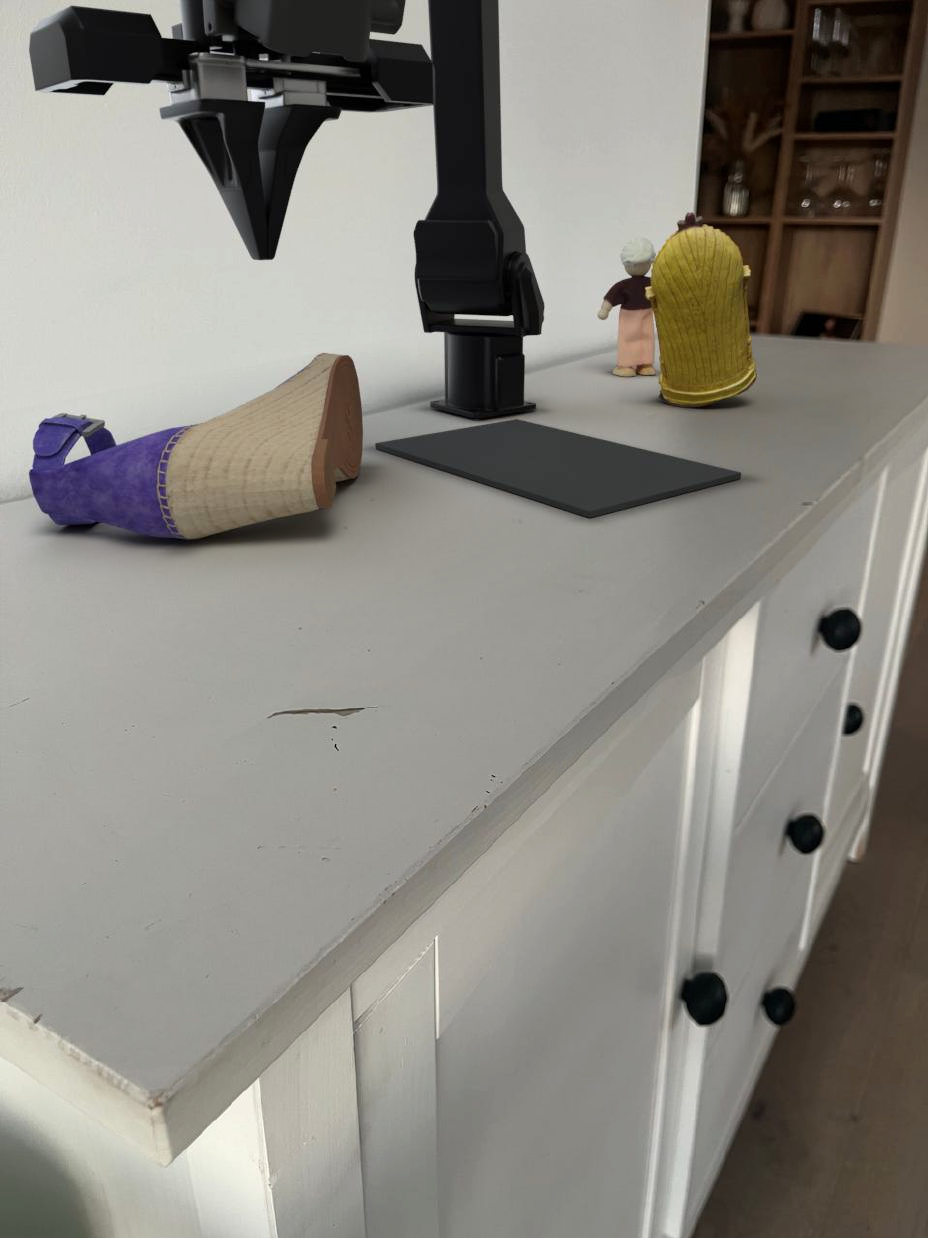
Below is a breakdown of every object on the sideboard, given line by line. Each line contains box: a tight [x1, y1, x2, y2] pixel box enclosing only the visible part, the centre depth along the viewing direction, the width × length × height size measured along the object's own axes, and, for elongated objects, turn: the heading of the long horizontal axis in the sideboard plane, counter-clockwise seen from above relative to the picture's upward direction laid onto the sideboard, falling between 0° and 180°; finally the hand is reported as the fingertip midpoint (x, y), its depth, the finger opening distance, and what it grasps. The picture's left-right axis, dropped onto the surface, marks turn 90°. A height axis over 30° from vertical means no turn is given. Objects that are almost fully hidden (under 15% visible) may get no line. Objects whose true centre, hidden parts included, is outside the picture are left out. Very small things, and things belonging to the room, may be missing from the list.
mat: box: [374, 418, 742, 519], centre depth 63 cm, size 21×13×1 cm, turn 38°
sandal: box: [28, 352, 364, 541], centre depth 55 cm, size 8×20×15 cm
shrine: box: [645, 211, 757, 408], centre depth 78 cm, size 12×8×15 cm
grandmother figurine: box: [597, 237, 657, 378], centre depth 94 cm, size 8×4×13 cm, turn 115°
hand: (263, 259), depth 50 cm, fingers closed
